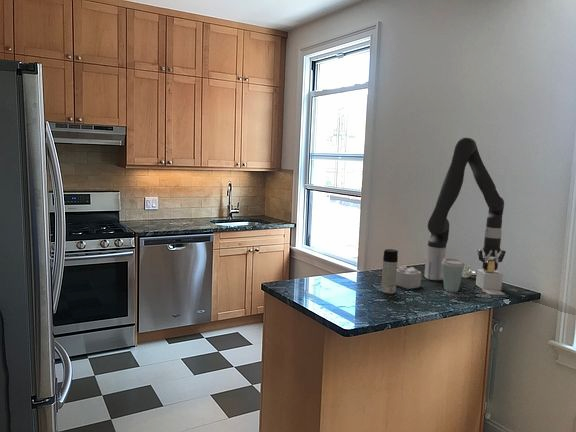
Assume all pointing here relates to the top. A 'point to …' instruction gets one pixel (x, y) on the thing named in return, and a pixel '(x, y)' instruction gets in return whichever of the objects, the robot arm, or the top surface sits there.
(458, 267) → the disposable coffee cup
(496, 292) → the mat
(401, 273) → the lumpy-topped squat cylinder
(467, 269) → the valve
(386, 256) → the spray can
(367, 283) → the top surface
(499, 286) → the box
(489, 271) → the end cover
